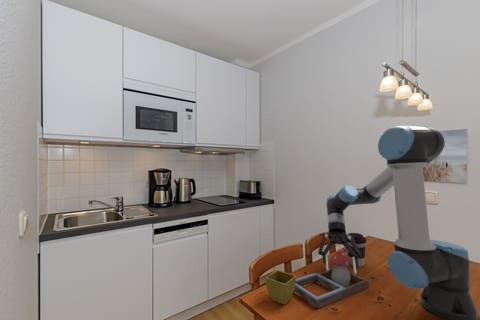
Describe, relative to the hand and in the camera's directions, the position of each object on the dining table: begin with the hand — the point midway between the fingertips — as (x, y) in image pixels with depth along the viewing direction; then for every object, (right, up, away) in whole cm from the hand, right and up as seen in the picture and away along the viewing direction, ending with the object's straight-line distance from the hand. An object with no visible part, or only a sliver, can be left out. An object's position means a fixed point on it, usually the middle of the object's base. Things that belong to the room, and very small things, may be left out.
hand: (341, 272), depth 99 cm
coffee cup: (+18, -7, +23) cm, 30 cm away
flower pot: (-26, -7, -8) cm, 28 cm away
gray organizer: (-5, -7, 0) cm, 8 cm away
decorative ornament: (+1, -7, +3) cm, 7 cm away
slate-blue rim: (-11, -4, -4) cm, 13 cm away
